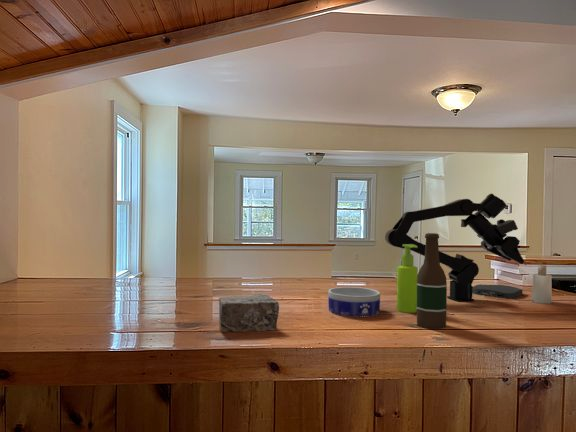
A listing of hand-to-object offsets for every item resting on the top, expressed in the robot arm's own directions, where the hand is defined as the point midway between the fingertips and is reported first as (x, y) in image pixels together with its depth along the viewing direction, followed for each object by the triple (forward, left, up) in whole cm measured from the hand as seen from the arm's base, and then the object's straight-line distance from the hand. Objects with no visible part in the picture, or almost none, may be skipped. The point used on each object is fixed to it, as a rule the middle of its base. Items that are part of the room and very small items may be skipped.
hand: (516, 261), depth 138 cm
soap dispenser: (-43, -7, -14) cm, 46 cm away
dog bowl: (-59, -4, -14) cm, 61 cm away
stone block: (-92, -16, -14) cm, 95 cm away
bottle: (+8, -3, -13) cm, 16 cm away
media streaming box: (+3, +12, -14) cm, 19 cm away
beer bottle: (-45, -23, -14) cm, 53 cm away
